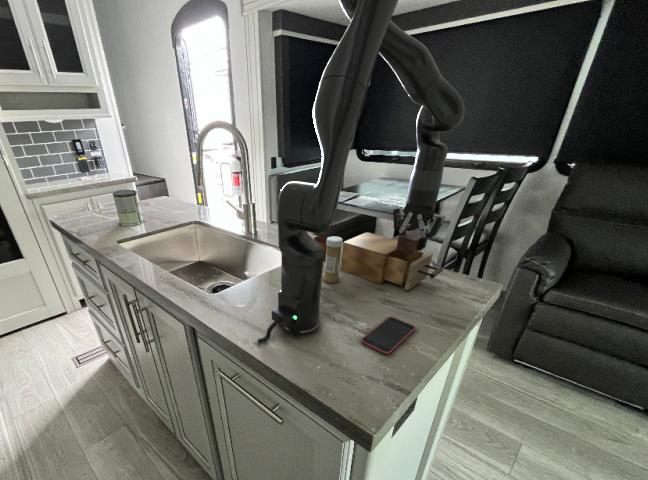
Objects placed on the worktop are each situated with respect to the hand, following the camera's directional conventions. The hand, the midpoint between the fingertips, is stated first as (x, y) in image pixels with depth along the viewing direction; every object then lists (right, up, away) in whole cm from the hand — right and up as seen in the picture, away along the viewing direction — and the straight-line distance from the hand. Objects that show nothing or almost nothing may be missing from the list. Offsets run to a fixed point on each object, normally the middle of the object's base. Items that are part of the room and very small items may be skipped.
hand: (410, 247), depth 94 cm
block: (0, 0, 0) cm, 0 cm away
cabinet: (-8, -6, +13) cm, 16 cm away
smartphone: (-13, -24, -18) cm, 33 cm away
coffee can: (-108, +21, +60) cm, 125 cm away
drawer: (0, -9, +5) cm, 10 cm away
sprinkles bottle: (-22, -9, +7) cm, 25 cm away
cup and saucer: (-22, +1, +24) cm, 32 cm away
